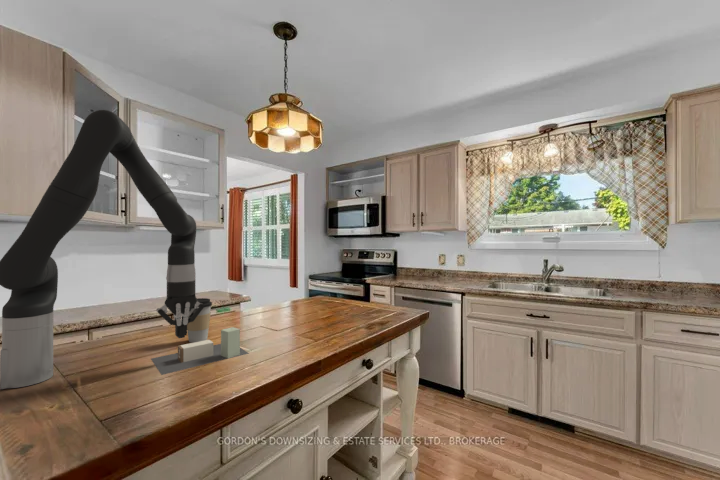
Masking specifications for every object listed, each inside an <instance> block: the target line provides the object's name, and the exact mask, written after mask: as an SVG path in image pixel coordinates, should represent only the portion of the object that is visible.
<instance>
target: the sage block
mask: <svg viewBox="0 0 720 480" xmlns="http://www.w3.org/2000/svg"><path fill="white" fill-rule="evenodd" d="M240 340H241V329H240V328H237V327H234V326H232V327H228V328H224V329H221V330H220V344H221V356H223V357H226V358H229V359H232V358H231V357H233V358H235V357H234V356H237V355H240V348H241V341H240ZM237 357H238V356H237Z"/></svg>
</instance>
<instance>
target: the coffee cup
mask: <svg viewBox="0 0 720 480" xmlns="http://www.w3.org/2000/svg"><path fill="white" fill-rule="evenodd" d="M197 301H198V302H199V303H202V304H204V308H203V309H202V311H201V312H200V313H199V315H198V316H197V317H196V319H195V320H194V321H193V322H190V323H188V324H187V337H188V338H187V339H188V342H189V343H195V342H200V341H205V340H208V338H209V337H208V335H209V329H210V324H211V323H210V321H211V308H212V307H211V306H212V305H213V304H212V303H213V302H212V301H211V299H210V298H207V297H202V298H197ZM194 307H195V305H194ZM194 307H193V308H192V309H191V311H190V312H189V316H190V314H191V313H192V312H193V311H194V309H195V308H194Z"/></svg>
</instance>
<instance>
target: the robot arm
mask: <svg viewBox="0 0 720 480" xmlns="http://www.w3.org/2000/svg"><path fill="white" fill-rule="evenodd" d="M109 154H111V155H112V156H113V157H114V158H115V159H116V160H118V162H119V163H120V165H122V166H123V168H124V169H125V171H126V172H127V173H128V174H129V176H130V178H131V180H132V181H133V184H134V185H135V186H136V189H137V190H138V191H139V193H140V195H141V196H142V197H143V198H144V200H145V201H146V202H147V203H148V205H149V206H150V208H152V209H153V211H154V212H155V214H156V215H157V217H158V219H159V221H160V222H161V224H162V225H163V227H164V228H165V230H166V231H167V232H169V233H170V234H171V236H170V245H169V247H168V249H167V250H168V251H167V270H166V277H165V279H166V299H165V301H164V304H163V305H162V306H161V307H158V308H157V309H156V312H157V313H158V315H160V316H161V317H162V318H163V319H164V320H165V321H166V322H167V323H168V324H169V325H170V326H174V328H175V329H174V331H175V333H174V334H175V336H176V337H177V338H178V339H183V338H184V339H185V336H188V331H187V324H188V323H190V322H193V321H194V320H195V319H196V317H197V316H198V315H199V313H200V312H201V311H202V309H203V308H204V304H202V303H199V302H198V301H197V299H198V298H197V296H196V266H195V262H196V261H195V260H196V259H195V245H196V239H197V238H196V237H197V222H196V220H195V219H194V217H193V216H191V215H190V214H188V213H187V212H186V211H185V210H184V208H183V207H182V206H181V204H180V203H179V202H178V199H177V197H176V195H175V194H174V192H173V191H172V190H171V188H170V187H169V185H167V183H166V182H165V180H164V179H163V178H162V177H161V175H160V174H159V173H158V172H157V171H156V169H154V167H153V166H152V165H151V164H150V162H149V161H148V159H147V158H146V156H145V155H144V153H143V152H142V151H141V149H140V146H139V145H138V143H137V141H136V139H135V137H134V135H133V134H132V131H131V129H130V127H129V126H128V124H126V122H124V120H122V118H121V117H120V116H118V115H117V114H116V113H114V112H112V111H110V110H107V109H98V110H95V111H92V112H91V113H89V114H88V115H87V117H85V120H83V123H82V125H81V127H80V130H79V131H78V135H77V137H76V139H75V140H74V144H73V146H72V148H71V150H70V152H69V153H68V155H67V157H66V158H65V160H64V161H63V163H62V165H61V166H60V168H59V169H58V171H57V173H56V175H55V176H54V178H53V179H52V181H51V182H50V184H49V186H47V188H46V190H45V192H44V193H43V196H42V197H41V200H40V201H39V203H38V205H37V206H36V208H35V209H34V211H33V213H32V214H31V216H30V218H29V220H28V222H27V223H26V225H25V228H24V229H23V230H22V231H21V233H20V234H19V236H18V238H17V239H16V240H15V241H14V243H13V244H12V245H11V246H10V248H9V249H8V250H7V251H6V253H5V254H4V255H3V256H2V258H1V259H0V286H1V287H3V288H4V289H7V290H11V291H10V297H9V299H8V301H7V302H5V304H4V305H3V307H2V311H1V349H0V390H5V389H16V388H23V387H28V386H29V387H30V386H32V385H36V384H39V383H43V382H45V381H47V380H49V379H50V378H53V376H54V306H55V303H56V301H57V298H58V286H59V285H58V282H59V281H58V279H59V271H58V270H59V269H58V265H57V262H56V261H55V259H54V258H53V257H52V254H53V252H54V251H55V248H56V247H57V245H58V244H59V243H60V241H61V240H62V239H63V238H64V237H65V236H66V235H67V234H68V233H69V232H70V231H71V230H72V229H73V228H74V227H75V226H77V224H78V223H79V222H80V221H81V220H82V219H83V218H84V216H85V215H86V213H87V211H88V210H89V209H90V206H91V205H92V203H93V201H94V199H95V198H96V195H97V193H98V188H99V182H100V177H101V176H100V174H101V169H102V166H103V164H104V162H105V160H106V159H107V157H108V156H109ZM194 305H195V307H194ZM193 307H194V308H195V309H194V311H193V312H192V313H191V314H190V316H189V312H190V311H191V309H192V308H193ZM167 309H168V310H169V311H170V312H171V313H172V314H173V318H174V319H172V318H171V317H170V316H169V315H168V314H167V313H168V310H167Z"/></svg>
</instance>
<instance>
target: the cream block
mask: <svg viewBox="0 0 720 480" xmlns="http://www.w3.org/2000/svg"><path fill="white" fill-rule="evenodd" d="M213 345H214V341H212V340H211V339H207V340H205V341H200V342H195V343H192V342H189V343H186V344H181V345H179V344H178V345H177V353H178V360H179V361H180V362H181V363H182V362H187V361H191V360H195V359H200V358H204V357H208V356H212V355H213Z"/></svg>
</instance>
